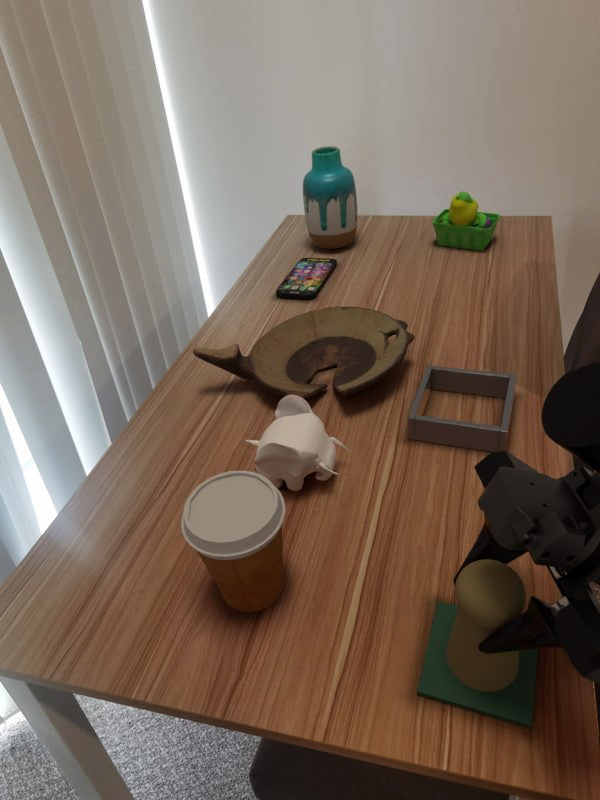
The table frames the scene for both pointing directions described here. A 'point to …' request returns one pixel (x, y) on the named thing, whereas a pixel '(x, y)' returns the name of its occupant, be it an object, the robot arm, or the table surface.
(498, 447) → the holder
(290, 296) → the smartphone
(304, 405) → the elephant figurine
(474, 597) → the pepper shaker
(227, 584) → the disposable coffee cup
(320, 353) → the brown shallow dish
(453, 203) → the fruit basket
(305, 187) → the vase
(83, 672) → the table surface
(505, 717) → the coaster
